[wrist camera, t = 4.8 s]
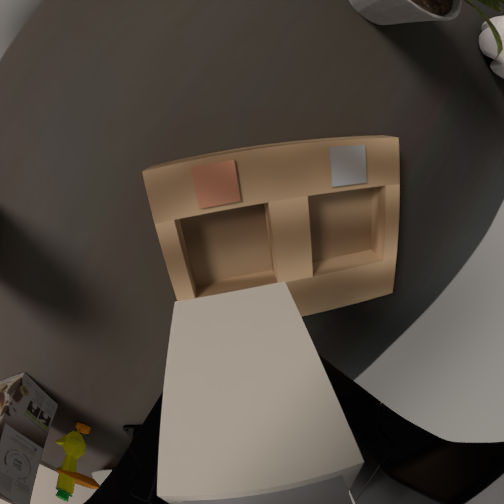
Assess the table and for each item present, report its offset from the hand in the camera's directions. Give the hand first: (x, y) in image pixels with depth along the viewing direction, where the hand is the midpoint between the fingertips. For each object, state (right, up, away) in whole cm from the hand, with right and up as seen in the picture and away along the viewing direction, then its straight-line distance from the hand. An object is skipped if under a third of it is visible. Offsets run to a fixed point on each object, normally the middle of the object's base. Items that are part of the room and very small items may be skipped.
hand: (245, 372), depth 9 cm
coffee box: (-29, -14, +16) cm, 36 cm away
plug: (0, +1, +2) cm, 2 cm away
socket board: (+2, +6, +11) cm, 13 cm away
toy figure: (-22, -19, +19) cm, 35 cm away
